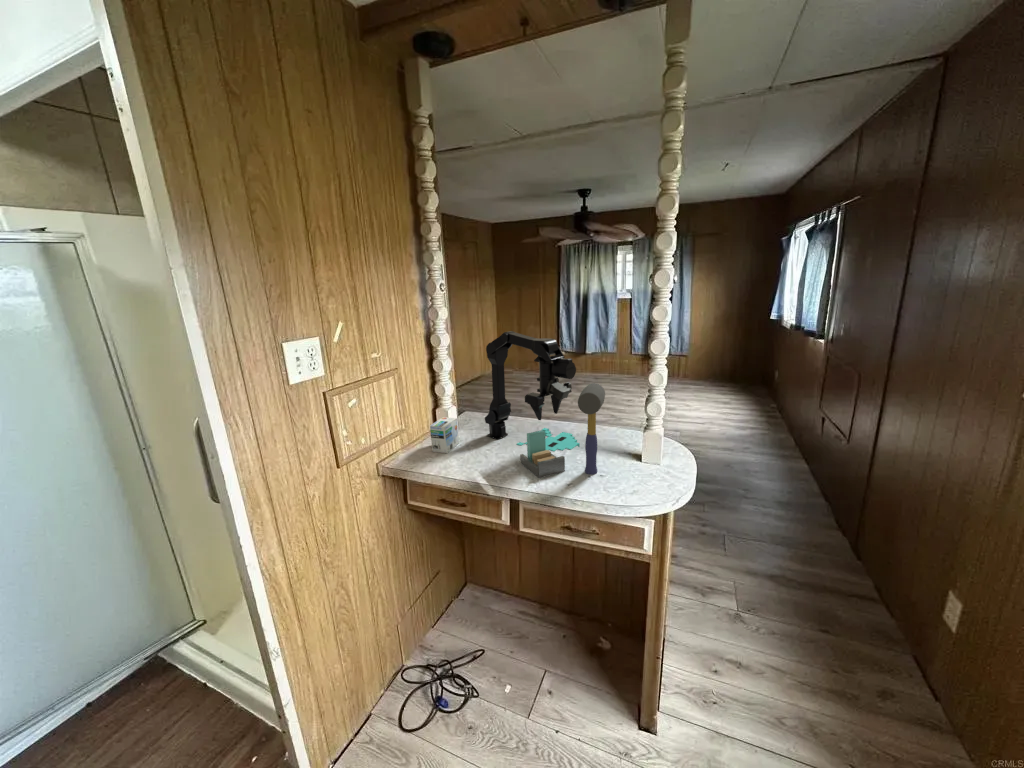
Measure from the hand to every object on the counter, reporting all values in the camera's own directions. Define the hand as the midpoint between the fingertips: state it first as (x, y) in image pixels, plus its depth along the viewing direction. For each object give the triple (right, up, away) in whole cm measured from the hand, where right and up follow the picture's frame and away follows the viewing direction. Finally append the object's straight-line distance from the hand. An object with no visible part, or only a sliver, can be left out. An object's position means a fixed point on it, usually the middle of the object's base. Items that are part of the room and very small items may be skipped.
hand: (547, 416), depth 142 cm
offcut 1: (-3, -16, -11) cm, 19 cm away
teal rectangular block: (-4, -15, -8) cm, 18 cm away
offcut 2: (-2, -16, -13) cm, 21 cm away
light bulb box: (-39, -13, +12) cm, 43 cm away
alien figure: (+3, -12, +11) cm, 17 cm away
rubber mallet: (+13, -18, -15) cm, 27 cm away
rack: (-3, -17, -10) cm, 20 cm away
